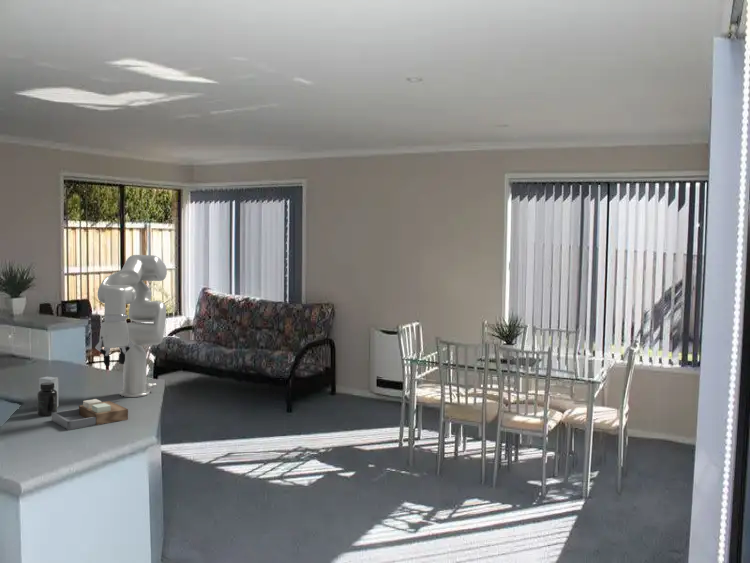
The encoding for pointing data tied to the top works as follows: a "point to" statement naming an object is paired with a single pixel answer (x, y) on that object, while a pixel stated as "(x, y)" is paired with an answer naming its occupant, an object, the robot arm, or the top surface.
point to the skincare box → (50, 379)
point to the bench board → (106, 413)
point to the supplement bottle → (46, 399)
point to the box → (72, 419)
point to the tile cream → (91, 403)
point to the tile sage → (101, 408)
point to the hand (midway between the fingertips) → (114, 364)
